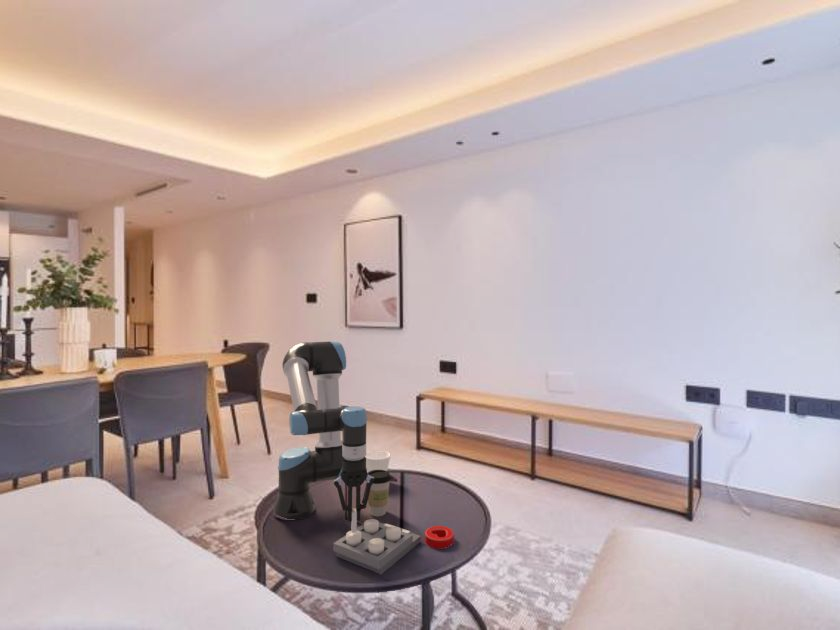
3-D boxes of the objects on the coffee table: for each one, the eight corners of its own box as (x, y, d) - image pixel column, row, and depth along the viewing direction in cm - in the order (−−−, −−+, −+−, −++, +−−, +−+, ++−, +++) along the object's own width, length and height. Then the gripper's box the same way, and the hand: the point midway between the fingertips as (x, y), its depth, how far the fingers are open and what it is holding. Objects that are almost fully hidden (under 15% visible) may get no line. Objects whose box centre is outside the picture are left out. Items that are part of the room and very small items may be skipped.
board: (333, 557, 144) (333, 543, 144) (378, 527, 163) (378, 514, 163) (378, 576, 134) (379, 561, 134) (420, 541, 154) (420, 528, 154)
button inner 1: (342, 544, 145) (342, 535, 144) (352, 537, 149) (353, 528, 148) (354, 548, 142) (354, 539, 142) (364, 542, 146) (364, 532, 146)
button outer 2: (382, 540, 147) (383, 531, 147) (391, 533, 151) (391, 524, 151) (395, 544, 145) (395, 535, 145) (403, 538, 149) (403, 528, 149)
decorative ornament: (457, 538, 157) (457, 529, 157) (448, 552, 148) (448, 542, 148) (431, 532, 161) (431, 523, 161) (420, 545, 152) (420, 536, 152)
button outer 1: (365, 553, 140) (365, 543, 140) (374, 546, 144) (374, 536, 144) (377, 557, 137) (377, 548, 137) (387, 550, 141) (387, 541, 141)
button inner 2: (361, 532, 152) (361, 523, 152) (370, 526, 156) (370, 517, 156) (372, 536, 150) (372, 527, 149) (381, 530, 154) (381, 521, 154)
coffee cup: (386, 519, 169) (387, 479, 169) (361, 517, 171) (361, 477, 170) (393, 508, 179) (393, 470, 178) (369, 505, 181) (369, 468, 180)
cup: (380, 490, 196) (380, 461, 195) (358, 483, 202) (358, 456, 201) (395, 480, 206) (396, 453, 205) (374, 475, 212) (374, 448, 212)
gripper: (333, 462, 139) (333, 538, 140) (376, 459, 142) (375, 534, 143) (332, 454, 147) (332, 526, 147) (373, 451, 150) (372, 523, 150)
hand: (353, 530), depth 145 cm, fingers closed
